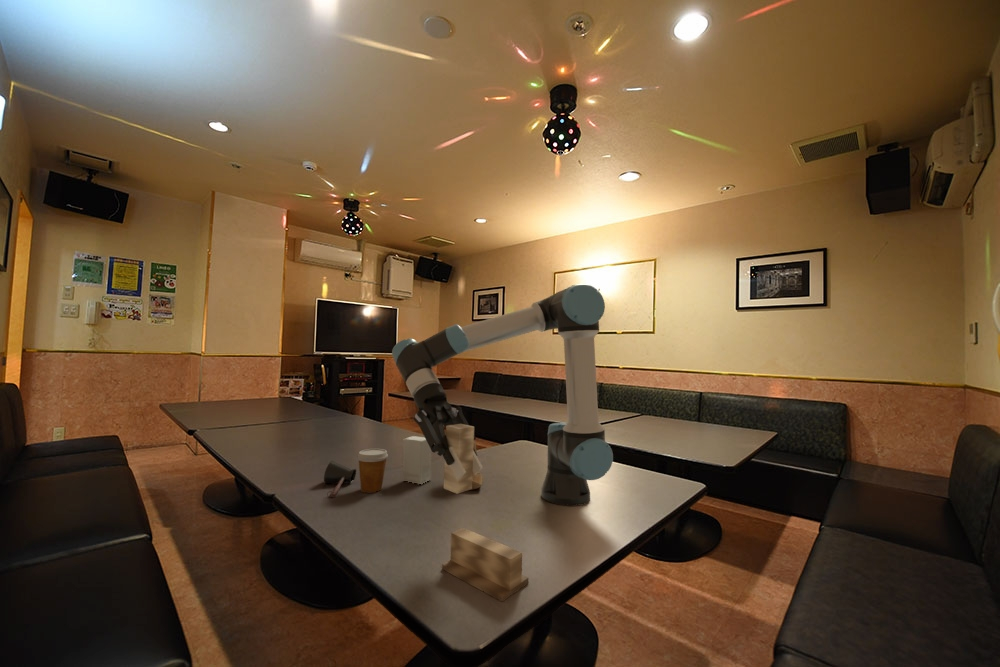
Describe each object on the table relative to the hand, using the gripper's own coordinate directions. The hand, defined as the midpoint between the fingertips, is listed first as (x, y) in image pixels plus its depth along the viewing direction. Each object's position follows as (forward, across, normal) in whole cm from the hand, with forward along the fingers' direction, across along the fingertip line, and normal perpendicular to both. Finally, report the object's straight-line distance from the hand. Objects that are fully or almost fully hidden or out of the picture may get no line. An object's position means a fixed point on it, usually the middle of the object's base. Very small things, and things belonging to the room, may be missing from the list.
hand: (470, 473), depth 88 cm
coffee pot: (-30, 0, -58) cm, 65 cm away
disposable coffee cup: (-24, -8, -51) cm, 57 cm away
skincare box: (-22, -23, -49) cm, 58 cm away
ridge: (+18, +3, -7) cm, 20 cm away
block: (0, 0, -6) cm, 6 cm away
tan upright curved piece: (-12, -33, -39) cm, 53 cm away
